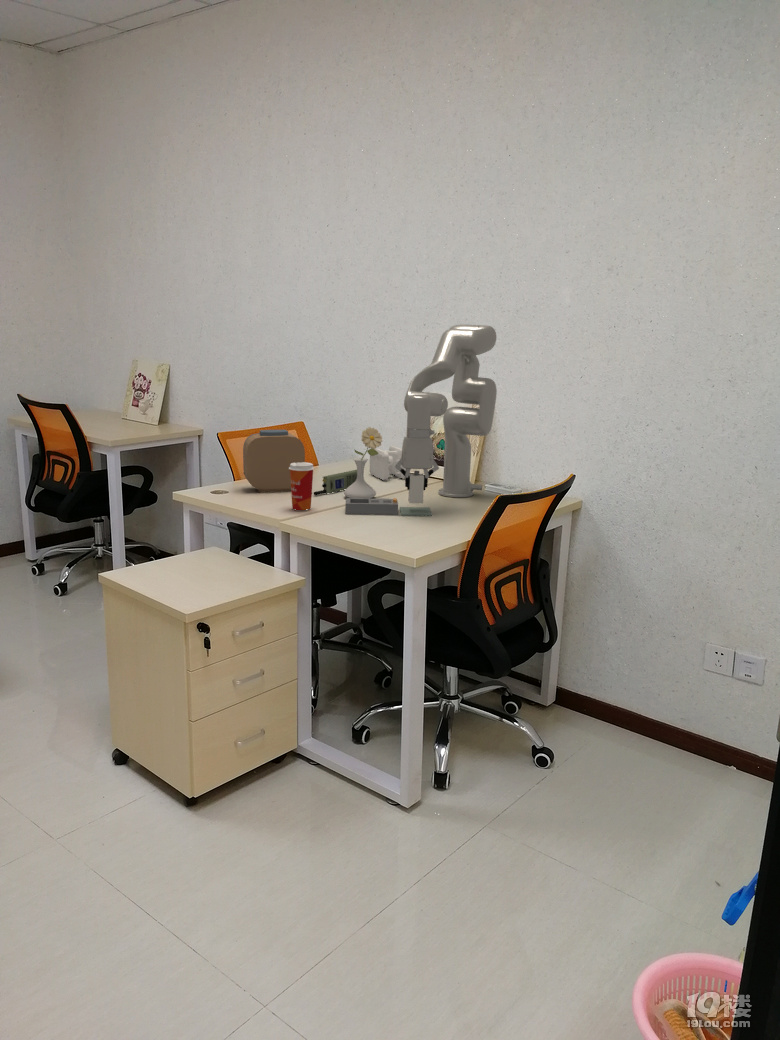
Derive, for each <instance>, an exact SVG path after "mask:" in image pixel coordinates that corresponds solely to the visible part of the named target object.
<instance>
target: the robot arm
mask: <svg viewBox="0 0 780 1040" xmlns="http://www.w3.org/2000/svg"><path fill="white" fill-rule="evenodd" d="M496 342H497V332H496V329H495V328H494V327H493V326H491V325H487V324H486V325H483V324H482V325H481V324H478V325H477V324H455V325H452V326H451V327H450V328H449V329H446V330H445V331H443V333H442V335H441V337H440V340H439V342H438V345H437V347H436V349H435V351H434V356H433V358H432V361H431V363H430V364H429V365H428V366H425V368H423V369H422V370H421V371H419V372H418V373H417V374H416V375H415V376H414V377H413V378H412V380H411V381H410V383H409V385H408V388H407V390H406V392H405V396H404V400H403V406H404V409H405V412H407V413H406V415H407V416H406V417H407V418H406V436H404V437H403V441H402V448H401V449H402V457H401V459H400V460H399V461H398V463H397V464H396V465H395V468H396V469H397V470H399V471H400V472H401V473H402V474H403V475H404V476H405V478H404V479H405V481H404V482H405V483H404V485H405V487H404V488H406V490H407V491H409V490H410V477H409V473H411V470H423V475H424V491H426V488H428V486H429V485H428V483H429V482H428V481H429V478H430V477H431V475H433V474H434V473H435V472H437V471H438V470H439V469H440V467H439V465H438V464H437V462H436V461H435V459H434V446H433V439H432V437H431V436H434V435H435V434H436V433H435V430H432V429H431V423H432V422H431V419H432V418H431V417H441V416H442V419H443V421H442V422H443V429H444V430H443V431H444V457H443V477H442V478H443V479H442V480H443V483H442V488H440V489H439V490H438V494H439V495H440V496H443V497H448V498H470V497H472V496H473V495H474V491H483V484H478V483H477V484H476V483H471V482H472V481H470V480H471V478H470V477H471V460H472V444H471V441H470V440H469V438H468V436H467V435H469V436H476V437H477V436H480V437H482V436H483V437H485V436H487V435H489V434H490V432H491V430H492V427H493V421H494V415H495V410H496V409H495V408H496V403H497V402H496V401H497V395H498V393H497V392H498V391H497V384H496V382H495V381H494V379H492V378H488V377H481V376H480V377H479V372H480V366H481V365H480V361H479V359H478V356H479V355H483V354H485V353H487V352H489V351H491V350H492V349H493V348H494V347H495V346H496ZM452 377H453V380H452V389H451V397H452V400H453V401H454V402H456V403H460V404H468V405H476V406H479V407H478V408H477V407H476V408H475V407H469V406H468V407H466V406H451V407H449V402H448V399H447V397H446V395H444V394H442V393H438V392H429V391H424V390H425V389H426V388H428V387H429V386H431V385H433V384H437V383H439V382H442V381H445V380H447V379H450V378H452ZM401 464H402V466H403V467H404V468H406V471H405V470H404V469H403V468H401V467H400V466H401Z"/></svg>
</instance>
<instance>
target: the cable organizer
mask: <svg viewBox="0 0 780 1040" xmlns="http://www.w3.org/2000/svg"><path fill="white" fill-rule="evenodd" d="M370 449H372V448H370ZM375 450H376V451H377V452H378V453H379V454H377V455H374V456H371V455H369V473H370V474H371V476H373V475H374V476H376V477H375V478H378V479H379V478H380V479H382V480H383V481H387V480H388V479H389V478H390V475H391V474H393V475H395V476H394V477H397V478H398V477H399V478H398V479H400V478H403V479H405V476H404V475H403V474H402V473H401V472H400V471H399V470H397V469H396V468H395V465H396V464H397V463H398V461H399V460H400V459H401V457H402V448H400V447H398V446H395V445H391V446H389V448H388V450H384V449H381V448H379V447H376V448H375ZM400 467H401V468H403V469H404V470H405V471H406V468H404V467H403V466H402V464H401V466H400ZM393 475H392V476H393ZM374 476H373V477H374ZM380 479H379V480H380ZM382 480H381V481H382Z"/></svg>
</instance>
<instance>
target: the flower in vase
mask: <svg viewBox="0 0 780 1040" xmlns="http://www.w3.org/2000/svg"><path fill="white" fill-rule="evenodd" d="M361 442H362V443H363V445H364V446H365V448H366V451H365V452H364V453H363V452H361V451H357V450H356V449H354V452H355V454H357V455H360V456H362V457H356V458H353V462H354V463H355V465H356V470H357V479H356V481H355V482H354V483H353V484H352V485H350V486H349V487H348V488H347V489H346V490H345V491H343V495H344V497H346V498H370V499H373V498H374V497H376V495H377V491H376V490H375V489H374V488H373V487H372V486H371V485H370V484H369V483H367V482H366V481H365V477H364V475H365V474H364V471H365V466H366V463H367V462H368V459H369V458H364V457H365V455H366V453H367V454H368V455H369V456H370V455H371V456H374V455H377V454H379V453H378V452H377V451H376V450H375V448H379V447H381V446H382V442H383V436H382V435H381V432H379V430H378V429H377V428H375V427H370V426H369V427H368V428H367V427H366V428H365V429H364V430H363V431H362V432H361ZM371 448H372V449H371Z"/></svg>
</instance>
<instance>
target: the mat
mask: <svg viewBox="0 0 780 1040" xmlns="http://www.w3.org/2000/svg"><path fill="white" fill-rule="evenodd" d="M399 512H400V516H401V517H432V516H433V514H432V510H431V507H428V506H421V507H420V506H399Z"/></svg>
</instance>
